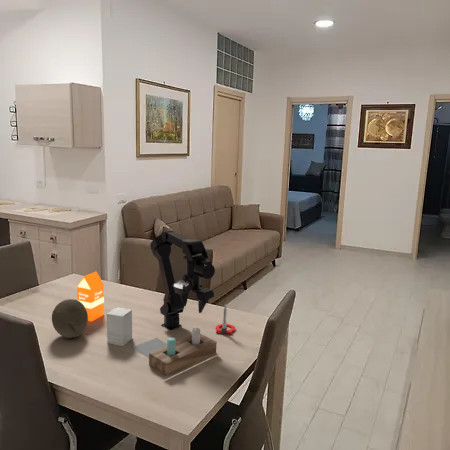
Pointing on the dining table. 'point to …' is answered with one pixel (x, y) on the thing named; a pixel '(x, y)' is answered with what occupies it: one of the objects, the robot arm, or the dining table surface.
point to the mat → (150, 346)
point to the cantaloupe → (70, 318)
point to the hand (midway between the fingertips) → (192, 309)
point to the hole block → (182, 355)
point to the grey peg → (195, 336)
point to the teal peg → (171, 346)
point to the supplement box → (119, 326)
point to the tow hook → (225, 325)
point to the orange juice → (92, 295)
